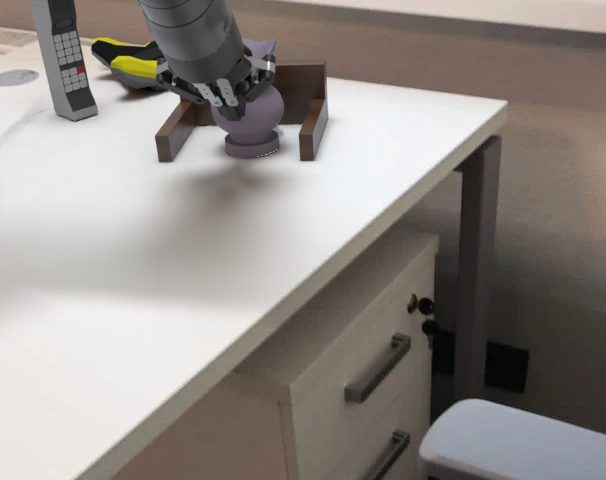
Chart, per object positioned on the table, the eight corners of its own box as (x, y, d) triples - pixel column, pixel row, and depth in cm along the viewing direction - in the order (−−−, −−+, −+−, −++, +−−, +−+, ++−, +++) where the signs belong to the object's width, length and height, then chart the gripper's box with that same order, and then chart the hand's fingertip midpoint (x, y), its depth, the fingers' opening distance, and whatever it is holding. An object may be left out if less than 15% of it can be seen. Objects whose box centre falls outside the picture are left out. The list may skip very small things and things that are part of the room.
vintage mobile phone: (74, 122, 115) (24, -103, 99) (55, 114, 118) (3, -105, 102) (99, 114, 117) (53, -108, 101) (79, 106, 120) (32, -110, 104)
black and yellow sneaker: (120, 103, 120) (189, 90, 123) (112, 61, 117) (184, 48, 119) (93, 76, 131) (158, 64, 134) (85, 36, 127) (152, 25, 130)
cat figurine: (204, 157, 102) (189, 47, 95) (232, 134, 108) (220, 28, 100) (272, 163, 100) (262, 50, 92) (297, 138, 105) (290, 30, 98)
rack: (314, 160, 100) (310, 96, 95) (158, 161, 102) (148, 99, 98) (328, 118, 110) (325, 59, 106) (187, 120, 113) (179, 62, 109)
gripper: (264, -22, 80) (296, 79, 97) (125, -16, 82) (180, 82, 99) (259, 57, 79) (291, 145, 96) (118, 61, 81) (175, 146, 98)
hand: (235, 113), depth 98 cm, fingers closed
